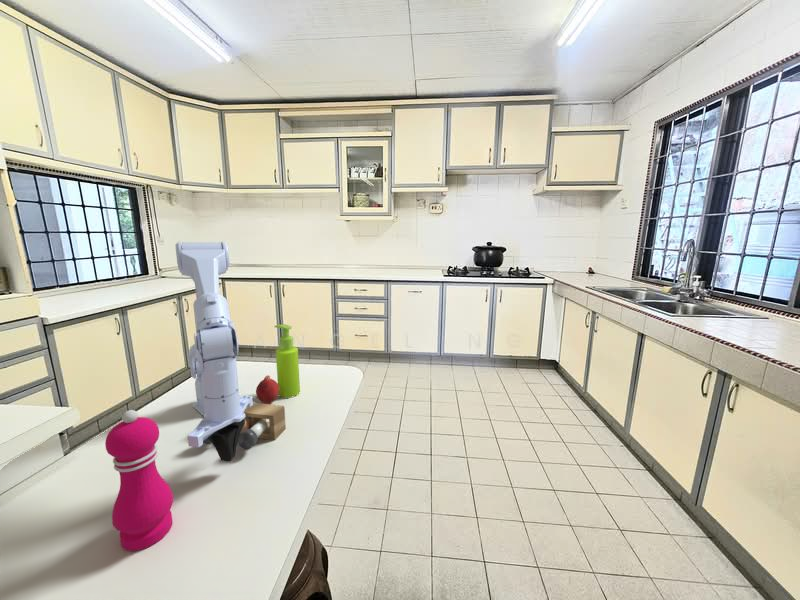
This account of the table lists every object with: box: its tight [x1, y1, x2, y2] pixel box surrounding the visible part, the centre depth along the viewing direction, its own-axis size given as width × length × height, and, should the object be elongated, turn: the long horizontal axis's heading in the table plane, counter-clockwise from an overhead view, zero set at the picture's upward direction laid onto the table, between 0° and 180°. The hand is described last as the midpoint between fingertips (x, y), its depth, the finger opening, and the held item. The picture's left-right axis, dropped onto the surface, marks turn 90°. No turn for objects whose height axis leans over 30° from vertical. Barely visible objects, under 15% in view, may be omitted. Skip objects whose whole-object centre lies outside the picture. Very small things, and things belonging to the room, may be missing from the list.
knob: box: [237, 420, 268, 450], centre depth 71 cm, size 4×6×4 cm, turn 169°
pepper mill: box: [104, 409, 174, 552], centre depth 49 cm, size 7×7×20 cm
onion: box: [255, 374, 280, 404], centre depth 89 cm, size 6×6×8 cm
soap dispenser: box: [274, 323, 301, 398], centre depth 94 cm, size 6×7×20 cm
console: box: [243, 402, 287, 441], centre depth 77 cm, size 15×4×6 cm, turn 79°
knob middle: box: [240, 417, 251, 434], centre depth 76 cm, size 4×6×4 cm, turn 169°
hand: (227, 458), depth 63 cm, fingers closed
